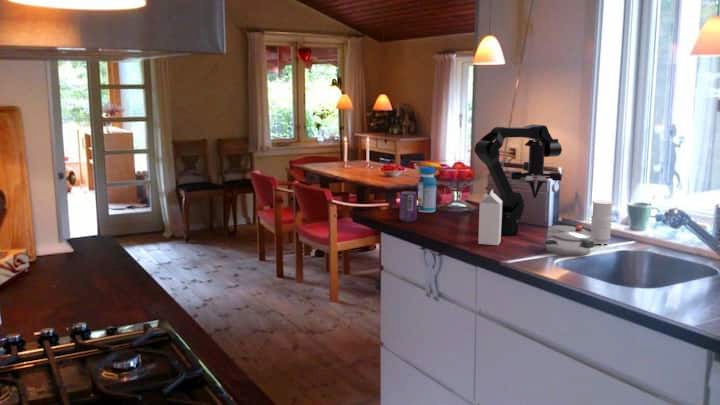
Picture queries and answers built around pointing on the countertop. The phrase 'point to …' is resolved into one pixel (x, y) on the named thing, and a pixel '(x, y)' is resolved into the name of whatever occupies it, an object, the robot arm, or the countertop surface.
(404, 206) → the beverage can
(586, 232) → the cooker lid
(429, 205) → the beverage bottle
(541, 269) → the countertop surface
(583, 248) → the cooker pot
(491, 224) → the milk carton
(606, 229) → the white cylinder
